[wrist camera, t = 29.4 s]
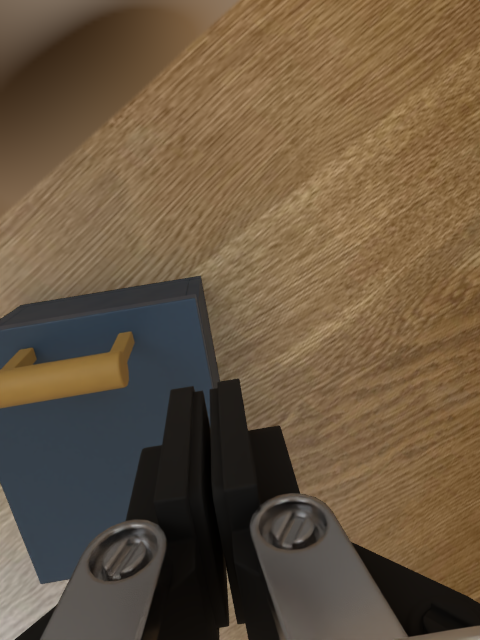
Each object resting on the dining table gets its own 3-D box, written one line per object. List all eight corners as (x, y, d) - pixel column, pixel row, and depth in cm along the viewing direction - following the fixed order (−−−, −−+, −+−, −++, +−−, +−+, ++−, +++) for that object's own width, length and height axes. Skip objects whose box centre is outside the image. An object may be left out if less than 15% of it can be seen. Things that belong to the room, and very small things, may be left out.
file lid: (-49, 333, 23) (-120, 382, 18) (195, 293, 24) (193, 330, 18) (44, 573, 29) (10, 662, 24) (242, 539, 29) (250, 619, 24)
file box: (20, 305, 32) (-38, 344, 24) (200, 275, 32) (198, 304, 24) (78, 492, 36) (45, 573, 29) (235, 465, 37) (242, 538, 29)
